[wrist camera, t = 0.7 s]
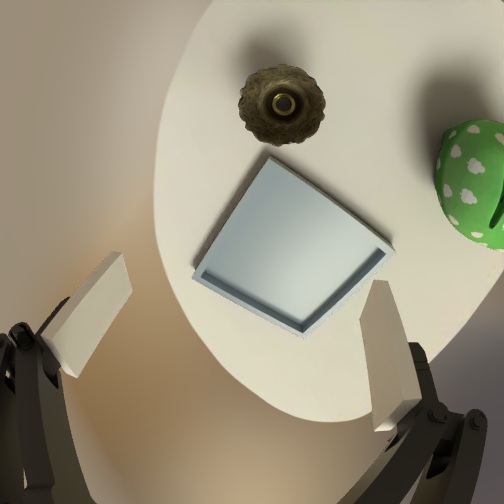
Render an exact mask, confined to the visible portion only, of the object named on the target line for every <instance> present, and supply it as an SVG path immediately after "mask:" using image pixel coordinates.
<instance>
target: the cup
mask: <svg viewBox="0 0 504 504" xmlns="http://www.w3.org/2000/svg"><path fill="white" fill-rule="evenodd" d="M240 95H241V96H242V98H240V101H239V103H238V107H239V110H240V111H239V115H240V118H241V119H242V120H243V121H245V122H246V125H245V128H246V129H247V130H249V131H252V133H253V134H254V136H255V137H256V138H257V139H258V140H259V141H261V142H264V143H270V144H272V145H274V146H277V147H280V146H282V145H283V144H291V143H297V144H299V143H302V142H304V141H305V139H307V138H309V137H311V136H313V135H314V134H315V133H316V132H317V130H318V128H319V125H320V122H321V121H322V120H323V119H324V117H325V115H324V113H323V110H324V108H325V105H326V102H325V99H324V98H323V97H324V96H323V92H322V91H321V89H320V88H319V87H318V86H317V83H316V81H315V79H314V78H312V77H310V76H309V75H308V74H307V73H306V72H305V71H303V70H302V69H300V68H298V67H293V66H287V65H285V64H280V65H278V66H277V67H270V68H268V69H260V70H258V71H257V73H255V74H252V75H250V76H249V77H248V78H247V80H246V84H245V87H244V88H242V89H241V90H240ZM282 97H285V98H288V99H289V100H290V101H291V107H290V109H289V110H287V111H281V110H279V109H278V107H277V101H278V99H279V98H282Z"/></svg>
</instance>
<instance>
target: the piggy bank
mask: <svg viewBox="0 0 504 504" xmlns="http://www.w3.org/2000/svg"><path fill="white" fill-rule="evenodd" d="M435 189H436V191H437V195H438V199H439V202H440V205H441V207H442V210H443V212H444V214H445V215H446V217H447V218H448V220H449V221H450V223H451V224H452V225H453V226H454V227H455V228H456V229H457V230H458V231H459V232H460V233H461V234H463V235H464V236H465V237H467V238H469V239H471V240H472V241H474V242H476V243H479V244H481V245H483V246H486V247H488V248H490V249H493V250H496V251H500V252H504V124H502V123H499V122H496V121H490V120H473V121H468V122H465V123H462V124H461V125H459V126H457V127H455V128H454V129H449V130H447V131H446V132H445V134H444V136H443V140H442V147H441V150H440V153H439V156H438V159H437V164H436V176H435Z"/></svg>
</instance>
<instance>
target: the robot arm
mask: <svg viewBox="0 0 504 504" xmlns="http://www.w3.org/2000/svg"><path fill="white" fill-rule="evenodd" d="M501 1H502V2H503V3H504V0H501ZM132 292H133V291H132V288H131V284H130V280H129V277H128V273H127V269H126V265H125V262H124V257H123V254H122V253H120V252H110V253H109V255H108V256H107V257H106V258H105V259H104V260H103V261H102V262H101V263H100V264H99V265H98V266H97V268H96V269H95V270H94V271H93V272H92V273H91V274H90V275H89V277H88V278H87V279H86V280H85V281H84V282H83V283H82V284H81V286H80V287H79V288H78V289H77V290H76V291H75V292H74V294H73V295H72V296H71V297H67V298H66V299H64V300H63V301H61V302H60V304H59V305H58V306H57V307H56V308H55V310H54V311H53V312H52V313H51V316H49V317H48V318H47V320H46V321H45V322H44V323H43V325H42V326H41V327H40V328H39V330H38V331H37V333H36V334H35V335H34V333H33V332H32V330H31V328H30V327H29V325H28V324H27V323H25V322H21V323H17V324H16V325H14V326H13V327H12V328H11V330H10V331H9V334H8V336H9V338H10V339H11V341H10V339H9V338H8V336H7V335H6V334H4V333H2V334H0V504H96V503H95V502H94V500H93V499H92V498H91V496H90V493H89V491H88V488H87V485H86V482H85V479H84V476H83V473H82V470H81V467H80V464H79V461H78V457H77V454H76V450H75V447H74V443H73V439H72V435H71V430H70V426H69V421H68V416H67V412H66V406H65V400H64V394H63V387H62V379H61V374H60V371H59V368H60V367H61V366H62V368H63V369H64V371H65V372H66V373H67V374H69V375H71V376H74V377H76V378H78V376H79V375H80V373H81V371H82V369H83V368H84V366H85V364H86V363H87V361H88V359H89V357H90V356H91V355H92V353H93V351H94V350H95V348H96V347H97V345H98V343H99V342H100V340H101V338H102V337H103V335H104V334H105V332H106V331H107V329H108V328H109V326H110V325H111V323H112V321H113V320H114V318H115V317H116V315H117V314H118V312H119V311H120V310H121V308H122V307H123V305H124V304H125V302H126V301H127V299H128V298H129V296H130V295H131V293H132ZM359 320H360V325H361V331H362V337H363V343H364V349H365V356H366V362H367V369H368V377H369V385H370V393H371V403H372V412H373V424H374V431H385V430H391V429H392V428H393V427H394V426H395V425H396V424H397V433H395V434H394V435H393V436H392V437H391V438H390V439H389V440H388V442H389V444H388V445H387V446H386V447H385V449H384V450H383V451H382V453H381V454H380V455H379V457H378V458H377V459H376V460H375V462H374V463H373V464H372V465H371V466H370V468H369V469H368V470H367V471H366V472H365V474H364V475H363V476H362V477H361V478H360V479H359V481H358V482H357V483H356V484H355V485H354V486H353V487H352V488H351V489H350V490H349V492H348V493H347V494H346V495H345V496H344V497H343V498H342V499H341V500H340V501H339V502H338V503H337V504H400V502H401V501H402V500H403V498H404V497H405V495H406V494H407V493H408V491H409V490H410V489H411V487H412V485H413V484H414V483H415V481H416V480H417V478H418V477H419V475H420V473H421V472H422V470H423V469H424V470H423V473H422V476H421V478H420V481H419V483H418V486H417V488H416V491H415V493H414V495H413V498H412V500H411V502H410V504H470V503H471V500H472V496H473V493H474V490H475V486H476V482H477V479H478V475H479V470H480V466H481V461H482V456H483V451H484V446H485V440H486V433H487V426H488V425H487V418H486V416H485V414H484V413H483V412H482V411H480V410H479V409H472V410H470V411H469V412H468V413H467V414H466V415H464V414H458V413H453V412H450V411H448V409H447V407H446V406H445V405H444V404H443V403H441V402H439V400H438V397H437V393H436V389H435V385H434V382H433V378H432V374H431V371H430V367H429V364H428V363H427V361H428V360H427V357H426V354H425V351H424V350H423V348H422V347H421V346H420V344H419V343H418V342H408V341H407V338H406V334H405V331H404V328H403V324H402V321H401V318H400V315H399V312H398V309H397V306H396V303H395V300H394V297H393V295H392V292H391V289H390V286H389V284H388V281H383V280H373V283H372V286H371V289H370V292H369V295H368V298H367V301H366V303H365V306H364V309H363V311H362V314H361V317H360V319H359ZM6 371H8V372H9V374H10V376H9V378H8V377H7V376H6ZM23 466H24V469H23ZM24 471H25V476H26V480H27V487H26V488H25V489H24Z"/></svg>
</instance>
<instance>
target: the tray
mask: <svg viewBox="0 0 504 504" xmlns="http://www.w3.org/2000/svg"><path fill="white" fill-rule="evenodd" d="M395 253H396V251H395V249H394V247H393V246H392V244H390V243H389V242H388V241H387V240H386V239H384V238H383V237H382V236H381V235H380V234H378V233H377V232H376V231H375V230H373V229H372V228H371V227H370V226H368V225H367V224H366V223H365V222H363V221H362V220H361V219H359V218H358V217H357V216H356V215H354V214H353V213H352V212H350V211H349V210H348V209H346V208H345V207H344V206H342V205H341V204H340V203H338V202H337V201H336V200H334V199H333V198H332V197H330V196H329V195H328V194H326V193H325V192H323V191H322V190H321V189H319V188H318V187H316V186H315V185H314V184H312V183H311V182H309V181H308V180H306V179H305V178H304V177H302V176H301V175H299V174H298V173H296V172H295V171H293V170H292V169H290V168H289V167H287V166H286V165H284V164H283V163H281V162H280V161H278V160H277V159H275V158H274V157H272V156H269V158H268V159H267V160H266V162H265V163H264V165H263V166H262V168H261V169H260V171H259V172H258V174H257V175H256V177H255V178H254V180H253V181H252V183H251V184H250V186H249V187H248V189H247V190H246V192H245V193H244V195H243V196H242V198H241V199H240V201H239V202H238V204H237V205H236V207H235V208H234V210H233V212H232V213H231V215H230V216H229V218H228V219H227V221H226V222H225V224H224V225H223V227H222V229H221V230H220V232H219V233H218V235H217V236H216V238H215V240H214V241H213V243H212V244H211V246H210V248H209V249H208V251H207V252H206V254H205V256H204V257H203V259H202V260H201V262H200V264H199V265H198V267H197V268H196V270H195V272H194V274H193V276H192V279H194V280H195V281H197V282H199V283H200V284H202V285H204V286H206V287H207V288H209V289H211V290H213V291H214V292H216V293H218V294H220V295H222V296H223V297H225V298H227V299H229V300H230V301H232V302H234V303H236V304H238V305H240V306H241V307H243V308H245V309H247V310H249V311H251V312H252V313H254V314H256V315H258V316H260V317H262V318H264V319H265V320H267V321H269V322H271V323H273V324H275V325H277V326H279V327H281V328H283V329H285V330H286V331H288V332H290V333H292V334H294V335H296V336H298V337H300V338H302V339H304V338H306V337H307V336H308V335H309V334H310V333H312V332H313V331H314V330H315V329H316V328H317V327H319V326H320V325H321V324H322V323H323V322H324V321H326V320H327V319H328V318H329V317H330V316H331V315H332V314H333V313H335V312H336V311H337V310H338V309H339V308H340V307H341V306H342V305H343V304H344V303H346V302H347V301H348V300H349V299H350V298H351V297H352V296H353V295H354V294H355V293H356V292H357V291H358V290H359V289H360V288H361V287H363V286H364V285H365V284H366V283H367V282H368V281H369V280H370V279H371V278H372V277H373V276H374V275H375V274H376V273H377V272H378V271H379V270H380V269H381V268H382V267H383V266H384V265H385V264H386V263H387V262H388V261H389V260H390V259H391V257H392V256H393V255H394V254H395Z"/></svg>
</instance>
